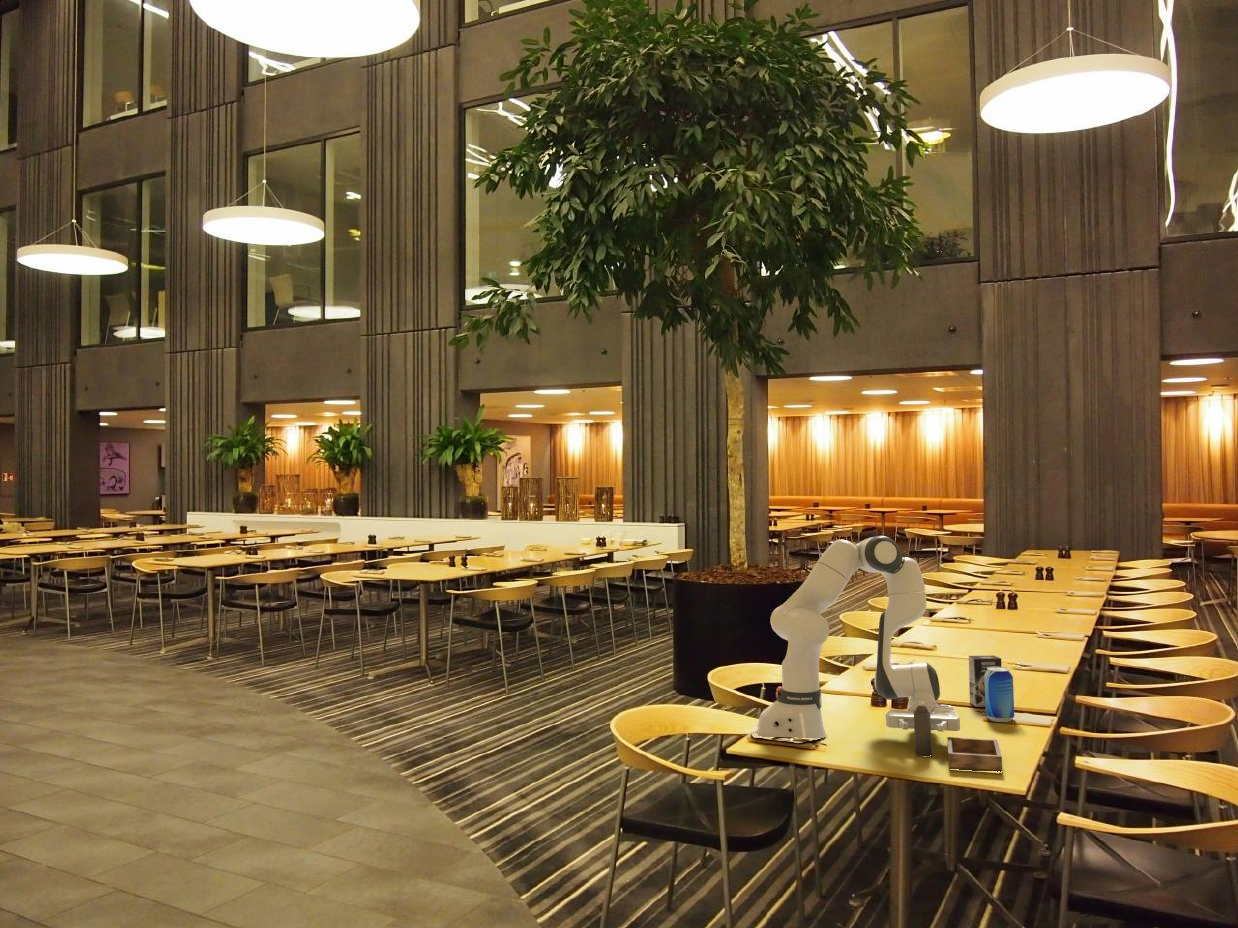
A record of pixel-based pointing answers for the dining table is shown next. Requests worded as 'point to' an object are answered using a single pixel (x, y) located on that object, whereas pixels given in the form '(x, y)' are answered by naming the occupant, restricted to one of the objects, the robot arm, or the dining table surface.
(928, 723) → the pepper mill
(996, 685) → the beer can
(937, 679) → the robot arm
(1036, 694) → the dining table surface
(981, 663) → the coffee box
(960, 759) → the box
